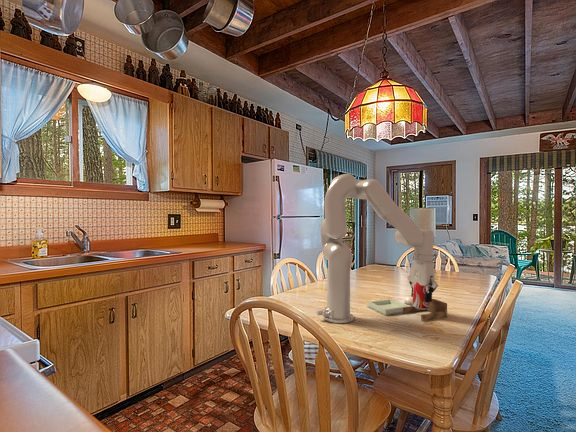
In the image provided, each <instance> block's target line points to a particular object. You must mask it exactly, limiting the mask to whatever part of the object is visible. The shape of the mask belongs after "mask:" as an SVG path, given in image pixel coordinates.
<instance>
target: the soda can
mask: <svg viewBox="0 0 576 432" xmlns="http://www.w3.org/2000/svg"><path fill="white" fill-rule="evenodd" d="M428 288H429V287H428ZM429 289H430V288H429ZM425 292H426V288H425V286H421V285H420V284H419V283H418V282H415V283H413V300H412V302H413V306H414V307H415V308H417V309H421V310H423V311H426V309H428V308H429V307H430V302H425Z"/></svg>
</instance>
